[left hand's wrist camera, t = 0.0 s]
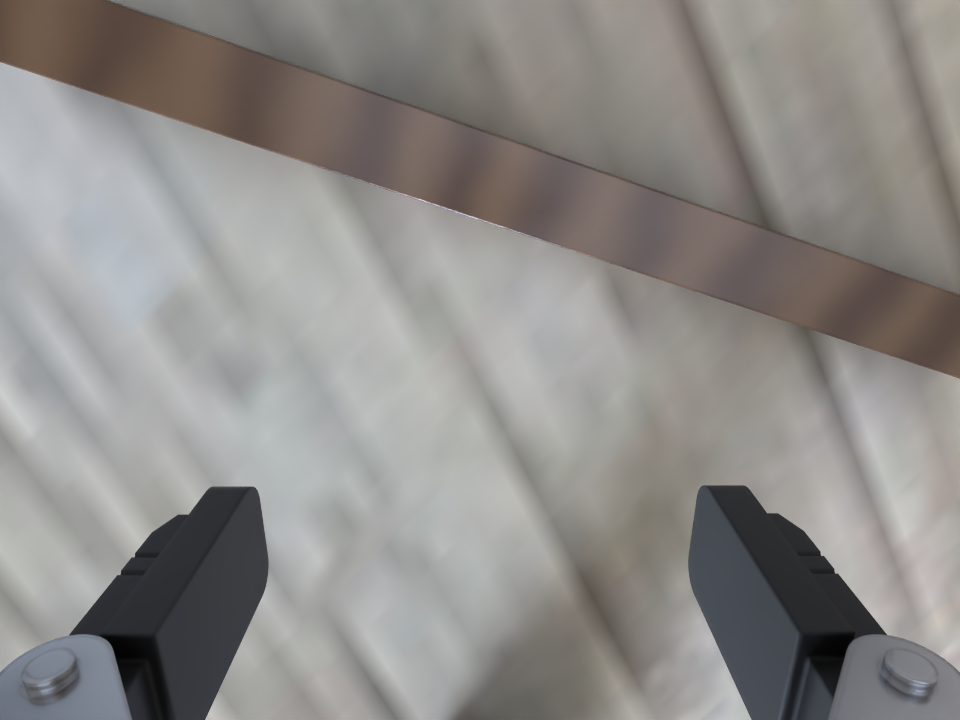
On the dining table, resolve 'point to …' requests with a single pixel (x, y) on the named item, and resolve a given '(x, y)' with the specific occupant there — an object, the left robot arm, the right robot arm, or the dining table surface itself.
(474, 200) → the beam
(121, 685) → the left robot arm
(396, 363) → the dining table surface
